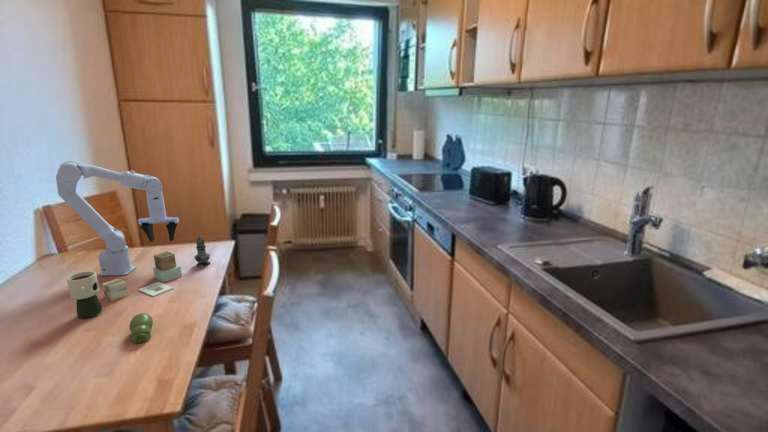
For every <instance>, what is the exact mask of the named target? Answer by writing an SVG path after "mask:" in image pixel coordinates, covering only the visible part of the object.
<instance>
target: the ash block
mask: <svg viewBox="0 0 768 432" xmlns="http://www.w3.org/2000/svg"><path fill="white" fill-rule="evenodd" d="M101 285H102V290H103V294H104V295H103V296H104V298H105V299H108V300H109V301H111V302H113V301H116V300H119V299H121V298H125V297H127V296H129V292H128V287H127V282H126V280H123V279H121V278H115V279H112V280H109V281H106V282H103V283H101Z"/></svg>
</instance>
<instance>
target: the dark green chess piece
mask: <svg viewBox="0 0 768 432" xmlns="http://www.w3.org/2000/svg"><path fill="white" fill-rule="evenodd" d="M195 240H196V241H195V243H196V247H195V249H196V251H197V253H196V255H195V256H193V257H194V259H195V261H196V262H197V263H196V264H195V266H196V267H199V268H203V267H208V266H210V265H211V262H210V261H209V260H210V257H211V254H210V253H207V251H206V245H205V239H204V238H203V237H201V236H200V235H199V236H198V238H196V239H195Z"/></svg>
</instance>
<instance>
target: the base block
mask: <svg viewBox="0 0 768 432" xmlns="http://www.w3.org/2000/svg"><path fill="white" fill-rule="evenodd" d="M152 270H153V275H154V278H156V279H157V280H158V281H159V282H160V283H163V282H167V281H171V280H173V279H177V278H180V277H182V276H183V273H182V268H181V266H180V265H178V264H177V263H176V267H174V268H171V269H168V270H165V271H162V270H159V269H157V268H156V266H154V267H152Z"/></svg>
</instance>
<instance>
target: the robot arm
mask: <svg viewBox="0 0 768 432" xmlns="http://www.w3.org/2000/svg"><path fill="white" fill-rule="evenodd" d="M82 177H83V180H85V179H88V178H91V177H95V178H96V177H97V178H100V179H106V180H111V181H116V182H119V183H120V184H121V185H122V186H123V187H126V188H127V187H128V188H132V189H136V190H140V191H143V190H145V192H146V201H147V202H146V203H147V208H148V214H149V215H148V216H149V217H144V218H143V217H141V218H138V219H137V220H138V225H140V229H141V230H142V231H143V232H144V233H145V234H146V236H147V237H148V239H149V242H150V243H152V242H153V241H155V235H154V224H166V225H165V227H166V229H167V232H168V237H169V239H168V240H169V241H170V242H173V241H174V240H175V233H176V228H177V227H178V223H180V218H179V217H176V216H174V217H173V216H167V211H166V206H165V204H166V203H165V199H164V195H163V187H164V185H163V184H162V182H161V180H160V179H159V178H158V177H156V176H153V175H149V174H146V173H145V174H141V173H137V172H136V171H135V170H132V169H131V170H130V171H128V170H126V171H124V172H119V171H115V170H112V169H107V168H104V167H101V166H97V165H93V164H88V163H84V162H78V163H77V162H76V161H72V160H70V161H69V160H68V161H64V162H62V163H61V164H60V166H59V168H58V170H57V173H56V175H55V179H56V187H57V194H58V196H59V197H60V199H61V200H63V201H64V202H65V203H66V204H67V205H68V206H69V207H70V208H71V209H72V210H73V211H74V212H75V213H76V214H77V215H78V216H79V217H80V218H81V219H82V220H83V221H84V222H85V223H86V224H87V225H88V226H89V227H91V228H92V230H94V232H96V233H97V235H98V237H99V238H100V239H101V241H102V242H104V244H105V249H103V250H101V251H100V252H99V255H98V263H99V267H100V272H101V274H100V276H103V277H104V276H127V275H128V274H129V273H131V272H132V271H134V270H135V269H136V268H137V267H138V266H137V265H132V261H131V260H132V259H131V256H130V251H129V246H128V245H127V241H126V238H125V237H126V236H125V234H124V232H123V231H121V230H120V229H119V230H118V229H116V228H115V227H114V226H113V225H112V224H110V223H108V222H107V220H106V219H105V218H104V217H103V216H101V214H100V213H99V212H98V211H97V210H95V208H94V207H93V206H92V205H91V204H90V203H89V202H87V200H86V199H85V198H84V197H83V196H82V195H81V194H80V193H79V192H78V191H77V187H78V182H79V181H80V179H81V178H82Z"/></svg>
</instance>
